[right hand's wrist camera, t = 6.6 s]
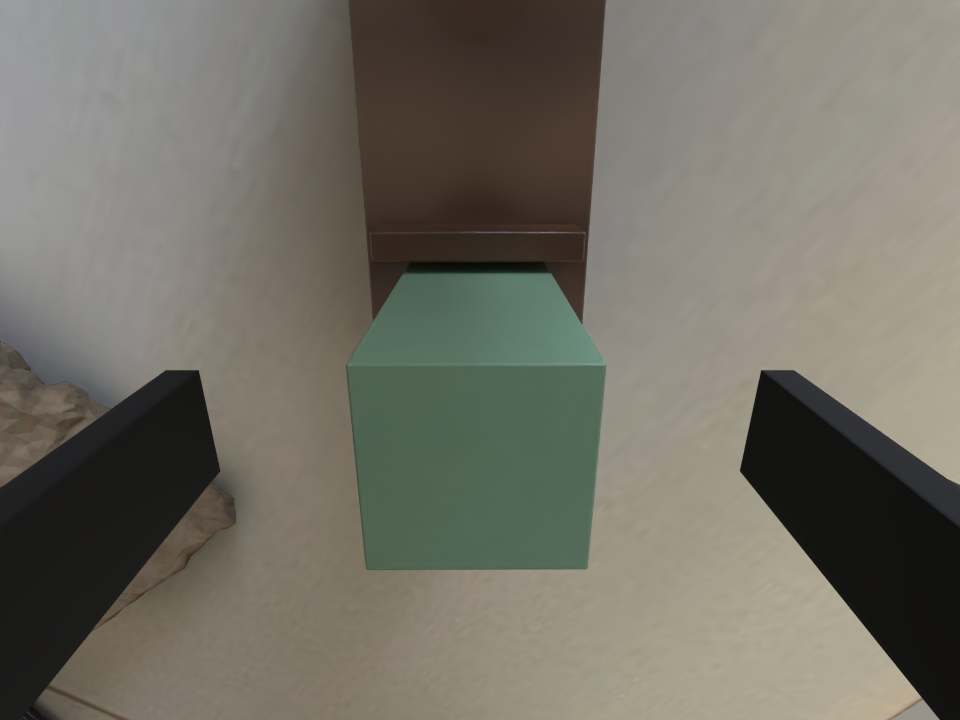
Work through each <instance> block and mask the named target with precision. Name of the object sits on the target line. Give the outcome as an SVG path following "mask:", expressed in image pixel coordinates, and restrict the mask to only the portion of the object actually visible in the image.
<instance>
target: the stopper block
mask: <svg viewBox="0 0 960 720" xmlns="http://www.w3.org/2000/svg"><path fill="white" fill-rule="evenodd" d="M346 370H347V380H348V391H349V401H350V411H351V421H352V431H353V441H354V452H355V462H356V472H357V482H358V492H359V502H360V513H361V523H362V533H363V543H364V553H365V564H366V569H368V570H457V569H587V567H588V558H589V547H590V536H591V525H592V514H593V504H594V493H595V482H596V471H597V460H598V449H599V438H600V428H601V417H602V406H603V395H604V384H605V373H606V363H605V362H604V360H603V358H602V357H601V355H600V353H599V352H598V350H597V348H596V347H595V345H594V344H593V342H592V340H591V339H590V337H589V335H588V334H587V332H586V330H585V329H584V327H583V325H582V324H581V322H580V320H579V319H578V317H577V315H576V314H575V312H574V310H573V309H572V307H571V306H570V304H569V302H568V301H567V299H566V297H565V296H564V294H563V292H562V291H561V289H560V287H559V286H558V284H557V282H556V281H555V279H554V277H553V276H552V274H551V272H550V271H549V269H548V268H547V266H546V264H545V263H410V264H409V265H408V266H407V268H406V270H405V271H404V273H403V274H402V276H401V278H400V279H399V281H398V282H397V284H396V286H395V287H394V289H393V290H392V292H391V294H390V295H389V297H388V298H387V300H386V302H385V303H384V305H383V306H382V308H381V310H380V311H379V313H378V314H377V316H376V318H375V319H374V321H373V322H372V324H371V326H370V327H369V329H368V330H367V332H366V334H365V335H364V337H363V339H362V340H361V342H360V343H359V345H358V347H357V348H356V350H355V351H354V353H353V355H352V356H351V358H350V359H349V361H348V363H347V365H346Z"/></svg>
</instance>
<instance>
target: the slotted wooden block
mask: <svg viewBox="0 0 960 720" xmlns="http://www.w3.org/2000/svg"><path fill="white" fill-rule="evenodd" d="M605 3H606V0H349V10H350V24H351V37H352V50H353V63H354V76H355V89H356V102H357V116H358V129H359V142H360V155H361V168H362V181H363V195H364V208H365V221H366V234H367V247H368V260H369V274H370V287H371V300H372V313H373V321H374V319H375V318H376V316H377V314H378V313H379V311H380V310H381V308H382V306H383V305H384V303H385V302H386V300H387V298H388V297H389V295H390V294H391V292H392V290H393V289H394V287H395V286H396V284H397V282H398V281H399V279H400V278H401V276H402V274H403V273H404V271H405V270H406V268H407V266H408V265H409V264H410V263H545V264H546V266H547V268H548V269H549V271H550V272H551V274H552V276H553V277H554V279H555V281H556V282H557V284H558V286H559V287H560V289H561V291H562V292H563V294H564V296H565V297H566V299H567V301H568V302H569V304H570V306H571V307H572V309H573V310H574V312H575V314H576V315H577V317H578V319H579V320H580V322H581V324H582V320H583V307H584V293H585V279H586V265H587V251H588V238H589V224H590V210H591V196H592V182H593V169H594V155H595V141H596V127H597V113H598V100H599V86H600V72H601V58H602V44H603V31H604V17H605Z"/></svg>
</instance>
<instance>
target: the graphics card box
mask: <svg viewBox="0 0 960 720" xmlns="http://www.w3.org/2000/svg"><path fill="white" fill-rule="evenodd" d="M20 720H46V719H45V718H44V717H43V716H41V715H40V714H39V713H38V712H37V711H36V710H35V709H33V708H32V707H30V708H29V710H28V711H27V712H26V713H25V714H24V716H23V717H22V718H21V719H20Z"/></svg>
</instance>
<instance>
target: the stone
mask: <svg viewBox="0 0 960 720" xmlns="http://www.w3.org/2000/svg"><path fill="white" fill-rule="evenodd" d="M108 411H109V409H107V408H105V407H103V406H101V405H100V404H98V403H97V402H96V401H95V400H93V399H92V398H91V397H89V396H88V395H87V393H86V392H85V391H84V390H82V389H81V388H79V387H76V386H74V385H73V384H71V383H69V382H62V383H58V384H54V385H50V386H48V385H45V384H44V383H43V382H42V380H41V379H40V378H39V377H38V376H37V375H35V374H34V373H32V372H30V367H29V366H28V364H27V363H26V362H25V360H24V359H23V357H22V356H21V354H20V353H19V352H18V351H16V350H15V349H14V348H13V347H11V346H10V345H8V344H5V343H2V342H1V341H0V487H2V486H4V485H5V484H7V483H8V482H9V481H11V480H12V479H14V478H15V477H16V476H18V475H19V474H21V473H22V472H23V471H25V470H26V469H28V468H29V467H30V466H32V465H33V464H35V463H36V462H38V461H39V460H40V459H42V458H43V457H45V456H46V455H47V454H49V453H50V452H52V451H53V450H54V449H56V448H57V447H59V446H60V445H61V444H63V443H64V442H66V441H67V440H69V439H70V438H71V437H73V436H74V435H76V434H77V433H78V432H80V431H81V430H83V429H84V428H85V427H87V426H88V425H90V424H91V423H92V422H94V421H95V420H97V419H98V418H100V417H101V416H102V415H104V414H105V413H107V412H108ZM234 523H236V512H235V507H234V498H232V497H231V496H229V495H228V494H226V493H224V492H223V491H221V490H219V489H218V488H217V486H216V485H215V484H211V483H210V484H209V485H208V487H207V488H206V489H205V490H204V492H203V493H202V494H201V495H200V497H199V498H198V499H197V500H196V502H195V503H194V504H193V505H192V507H191V508H190V509H189V510H188V512H187V513H186V514H185V515H184V517H183V518H182V519H181V520H180V522H179V523H178V524H177V525H176V527H175V528H174V529H173V530H172V532H171V533H170V534H169V535H168V536H167V538H166V539H165V540H164V541H163V543H162V544H161V545H160V546H159V548H158V549H157V550H156V551H155V553H154V554H153V555H152V556H151V558H150V559H149V560H148V561H147V563H146V564H145V565H144V566H143V568H142V569H141V570H140V571H139V573H138V574H137V575H136V576H135V578H134V579H133V580H132V581H131V583H130V584H129V585H128V586H127V588H126V589H125V590H124V591H123V593H122V594H121V595H120V596H119V597H118V599H117V600H116V601H115V602H114V604H113V605H112V606H111V607H110V609H109V610H108V611H107V612H106V614H105V615H104V616H103V617H102V619H101V620H100V621H99V622H98V624H97V625H96V626H95V627H94V629H93V630H95V629H96V628H98V627H100V626H101V625H103V624H104V623H106V622H107V621H109V620H110V619H112V618H113V617H115V616H116V615H117V614H118V613H119V612H120V611H121V610H122V609H123V608H124V607H126V606H127V605H129V604H131V603H132V602H134V601H135V600H137V599H138V598H139V597H141V596H142V595H143V594H144V593H145V592H147V591H148V590H150V589H152V588H154V587H155V586H157V585H159V584H160V583H162V582H163V581H165V580H166V579H168V578H169V577H171V576H172V575H174V574H175V573H177V572H179V571H181V570H182V569H184V568H185V567H186V565H187V563H188V561H189V559H190V557H191V556H192V555H193V554H194V553H195V552H196V551H197V550H199V549H200V548H201V547H202V546H203V545H204V544H205V542H206V541H208V540H209V539H210V538H211V537H212V536H213V535H214V534H215V533H216V532H217V531H219V530H220V529H226V528H229V527H230V526H232V525H233V524H234ZM93 630H92V631H93Z"/></svg>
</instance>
